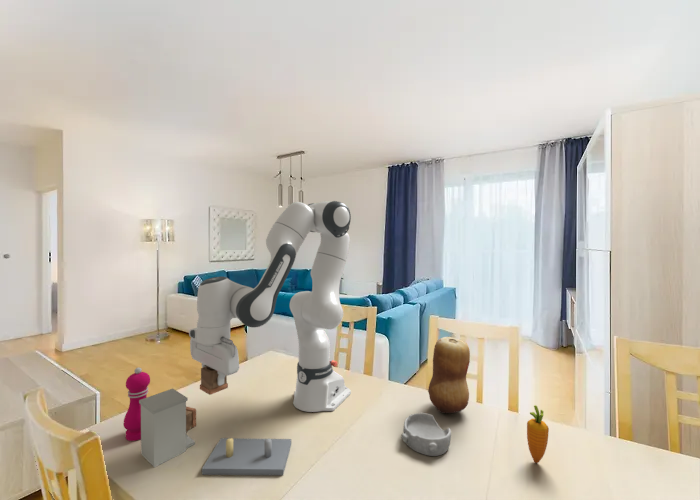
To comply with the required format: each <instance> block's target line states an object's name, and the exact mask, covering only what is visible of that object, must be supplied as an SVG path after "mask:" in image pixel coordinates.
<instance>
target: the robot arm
mask: <svg viewBox="0 0 700 500" xmlns="http://www.w3.org/2000/svg"><path fill="white" fill-rule="evenodd" d="M351 217H352V216H351V211H350V208H349V206H348V205H346V203H344V202H341V201H337V200H333V201H329V200H328V201H326V200H324V201H319V202H316V203H314V202H313V203H308V204H307V203H304V202H301V201H295V202H292V203H290V204H289V205H288V206H287V207H286V208H285V209H284V210H283V212H281V214H280V215H279V216H278V217H277V219H276V220H275V222H274V223H273V224H272V226H271V228H270V230H269V231H268V234H267V236H266V238H265V244H266V247H267V248H266V249H267V250H268V252H269V253H270V260H269V263H268V265H267V268H266V269H265V271H264V273H263V275H262V276H261V278H260V280H259V282H258V284H257V285H256V286H255V287H254V288H253V287H251V286H247V285H242V284H240V283H238V282H235V281H234V280H231V279H230V278H228V277H227V276H214V277H210V278H207V279H205V280H202V282H200V284H199V285H198V289H197V296H196V297H197V298H196V299H197V300H196V312H197V314H198V319H197V322H196V323H197V324H196V327H195V328H191V329H189V330H188V336H189V338H190V340H189V343H190V344H189V349H190V355H191V358H192V359H193V360H194V361H196V362H198V363H201V368H204V367H207V366H208V367H210V368H212V369H215V370H217V371H218V374H219V375H218V378H216V384H217V385H219V386H220V385H223V384H224V378H225V376H226V375H227V377H228V376H230V375H235V374H236V373H238V371H239V369H240V361H239V351H238V347H237V346H236V344H235V343H234V341H233V339H231V321H232V319H238V320H239V321H240V322H241V323H242V324H243V325H244V326H246V327H249V328H260V327H262V326H264V325H266V324H267V323H268V322H269V321H270V320H271V319H272V317H273V315H274V312H275V310H276V305H277V299H278V296H279V293H281V292H280V291H281V290H282V288H283V286H284V283H285V282H286V279H287V278H288V276H289V274H290V272H291V269H292V268H293V265H294V262H295V261H296V257H297V253H298V252H299V250H300V248H301V246H302V245H303V243H304V241H305V240H306V238H307V236H308V234H309V233H310V232H311V233H320V244H319V246H318V249H317V252H316V254H315V257H314V259H313V260H314V261H313V263H312V267H311V270H310V277H311V280H312V285H311V286H312V289H311V291H309V290H305V291H299V292H296V293H294V295H293V296H292V297H291V298H290V301H289V310H290V312H291V314H292V316H293V317H292V318H293V319H294V325H295V330H296V335H297V341H298V361H297V366H296V374H297V375H296V383H295V391H293V404H292V405H293V406H294V407H295V409H297V410H299V411H303V412H308V413H312V412H313V413H317V412H334V411H335V410H336V409H337V408H338V407H339V406H340V405H341V404H342V403H343V402H344V401H345V400H346V399H347V398H348V397H349V396H350V395H351V393H352V390H351V389H350V388H349V387H347V386H346V384H345V380H344V376H342V375H341V374H339V373H338V372H336V371H335V370H333V368H336V367H337V366H338V361H337V360H334V359H332V360H330V359H331V358H330V356H331V355H330V353H331V352H330V351H331V342H330V338H329V336H328V335H327V332H326V330H334V329H335V328H338V326H339V325H340V324H341V323H342V320H343V318H344V309H343V306H342V304H341V301H340V286H341V279H342V277H343V272H344V269H345V265H346V262H347V259H348V256H349V255H348V254H349V249H350V243H351V237H350V235H349V233H348V232H349V229H350V225H351V219H352V218H351Z"/></svg>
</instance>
